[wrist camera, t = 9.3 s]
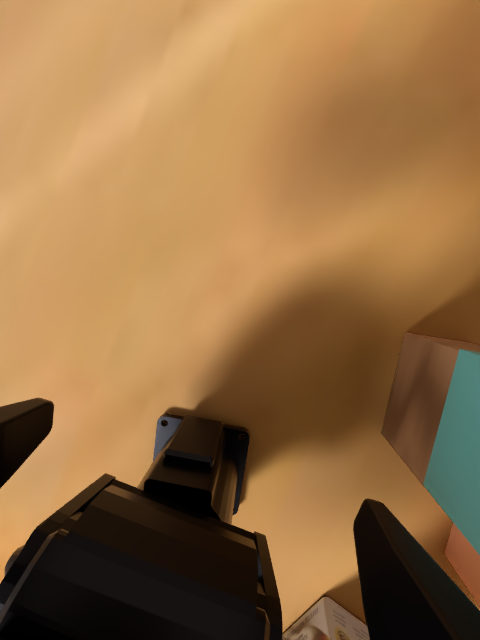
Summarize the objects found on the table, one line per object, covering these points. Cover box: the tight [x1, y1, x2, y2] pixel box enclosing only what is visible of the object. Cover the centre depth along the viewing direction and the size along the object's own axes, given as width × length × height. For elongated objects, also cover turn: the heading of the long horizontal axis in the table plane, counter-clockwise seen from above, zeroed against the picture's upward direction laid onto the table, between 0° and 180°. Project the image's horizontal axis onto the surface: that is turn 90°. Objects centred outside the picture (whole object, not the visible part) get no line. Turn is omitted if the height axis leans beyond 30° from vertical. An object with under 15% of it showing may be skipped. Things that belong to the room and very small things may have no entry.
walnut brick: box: [381, 332, 480, 486], centre depth 15 cm, size 7×4×5 cm, turn 172°
